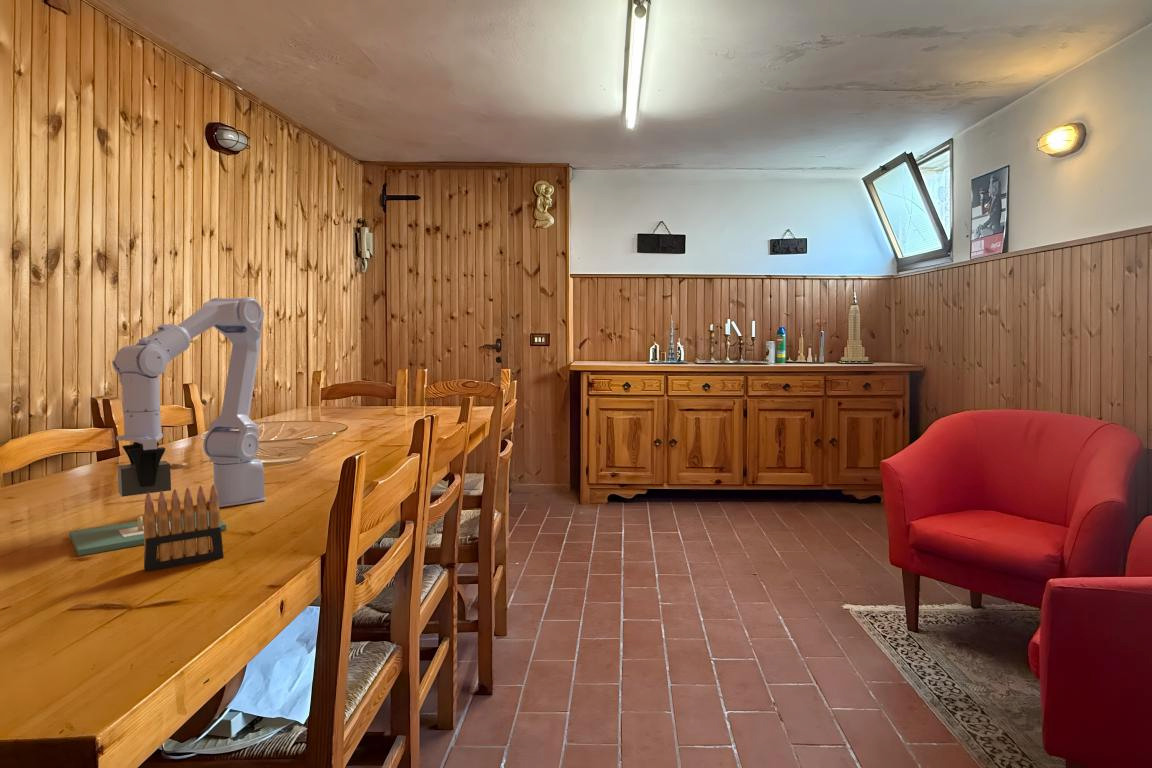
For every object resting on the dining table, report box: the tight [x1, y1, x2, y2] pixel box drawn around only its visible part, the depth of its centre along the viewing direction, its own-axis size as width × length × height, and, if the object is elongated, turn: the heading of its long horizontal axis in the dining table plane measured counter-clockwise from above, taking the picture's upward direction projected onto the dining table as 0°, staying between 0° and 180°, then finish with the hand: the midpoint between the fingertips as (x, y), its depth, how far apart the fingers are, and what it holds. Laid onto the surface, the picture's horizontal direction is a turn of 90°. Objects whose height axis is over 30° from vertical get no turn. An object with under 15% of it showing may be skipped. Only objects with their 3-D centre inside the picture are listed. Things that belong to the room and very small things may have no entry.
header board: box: [69, 509, 227, 557], centre depth 121 cm, size 22×14×4 cm, turn 132°
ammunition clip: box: [143, 483, 224, 573], centre depth 105 cm, size 11×2×12 cm, turn 128°
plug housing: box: [117, 460, 189, 497], centre depth 124 cm, size 11×4×5 cm, turn 131°
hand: (145, 483), depth 123 cm, fingers closed on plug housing, 4 cm apart
